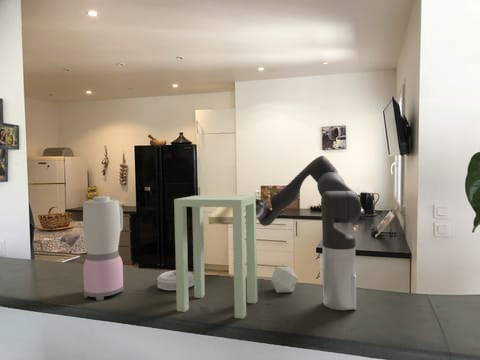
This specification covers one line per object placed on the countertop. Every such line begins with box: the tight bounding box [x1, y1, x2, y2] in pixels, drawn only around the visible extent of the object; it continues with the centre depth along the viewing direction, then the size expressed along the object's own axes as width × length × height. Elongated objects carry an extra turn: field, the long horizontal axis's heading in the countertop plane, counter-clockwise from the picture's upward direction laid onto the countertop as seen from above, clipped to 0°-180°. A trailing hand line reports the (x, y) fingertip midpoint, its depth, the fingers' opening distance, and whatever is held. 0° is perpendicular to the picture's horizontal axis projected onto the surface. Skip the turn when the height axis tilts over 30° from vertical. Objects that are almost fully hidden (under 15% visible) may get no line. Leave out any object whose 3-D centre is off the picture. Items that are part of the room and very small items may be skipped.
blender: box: [82, 195, 124, 301], centre depth 122 cm, size 16×12×32 cm
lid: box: [156, 269, 194, 291], centre depth 127 cm, size 13×13×5 cm
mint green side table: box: [173, 195, 258, 319], centre depth 108 cm, size 20×14×32 cm
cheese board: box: [207, 194, 248, 226], centre depth 124 cm, size 10×20×2 cm, turn 160°
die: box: [270, 266, 298, 294], centre depth 120 cm, size 8×9×10 cm
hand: (237, 199), depth 128 cm, fingers closed on cheese board, 3 cm apart
